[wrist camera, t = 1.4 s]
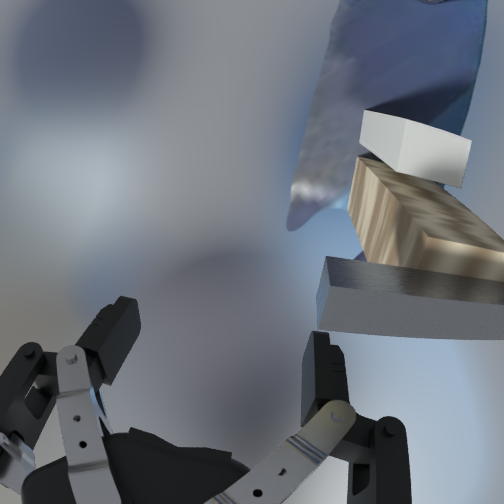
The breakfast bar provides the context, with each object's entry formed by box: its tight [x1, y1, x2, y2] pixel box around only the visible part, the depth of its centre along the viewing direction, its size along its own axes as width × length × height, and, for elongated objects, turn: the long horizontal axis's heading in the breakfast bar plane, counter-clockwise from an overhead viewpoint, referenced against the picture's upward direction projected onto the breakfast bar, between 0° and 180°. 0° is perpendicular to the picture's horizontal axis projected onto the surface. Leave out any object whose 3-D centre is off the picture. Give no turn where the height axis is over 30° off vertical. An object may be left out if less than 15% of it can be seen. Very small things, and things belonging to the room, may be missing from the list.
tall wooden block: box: [347, 157, 504, 282], centre depth 37 cm, size 12×10×32 cm
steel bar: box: [316, 256, 504, 340], centre depth 21 cm, size 21×4×4 cm, turn 85°
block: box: [359, 110, 472, 188], centre depth 36 cm, size 9×6×21 cm, turn 85°
